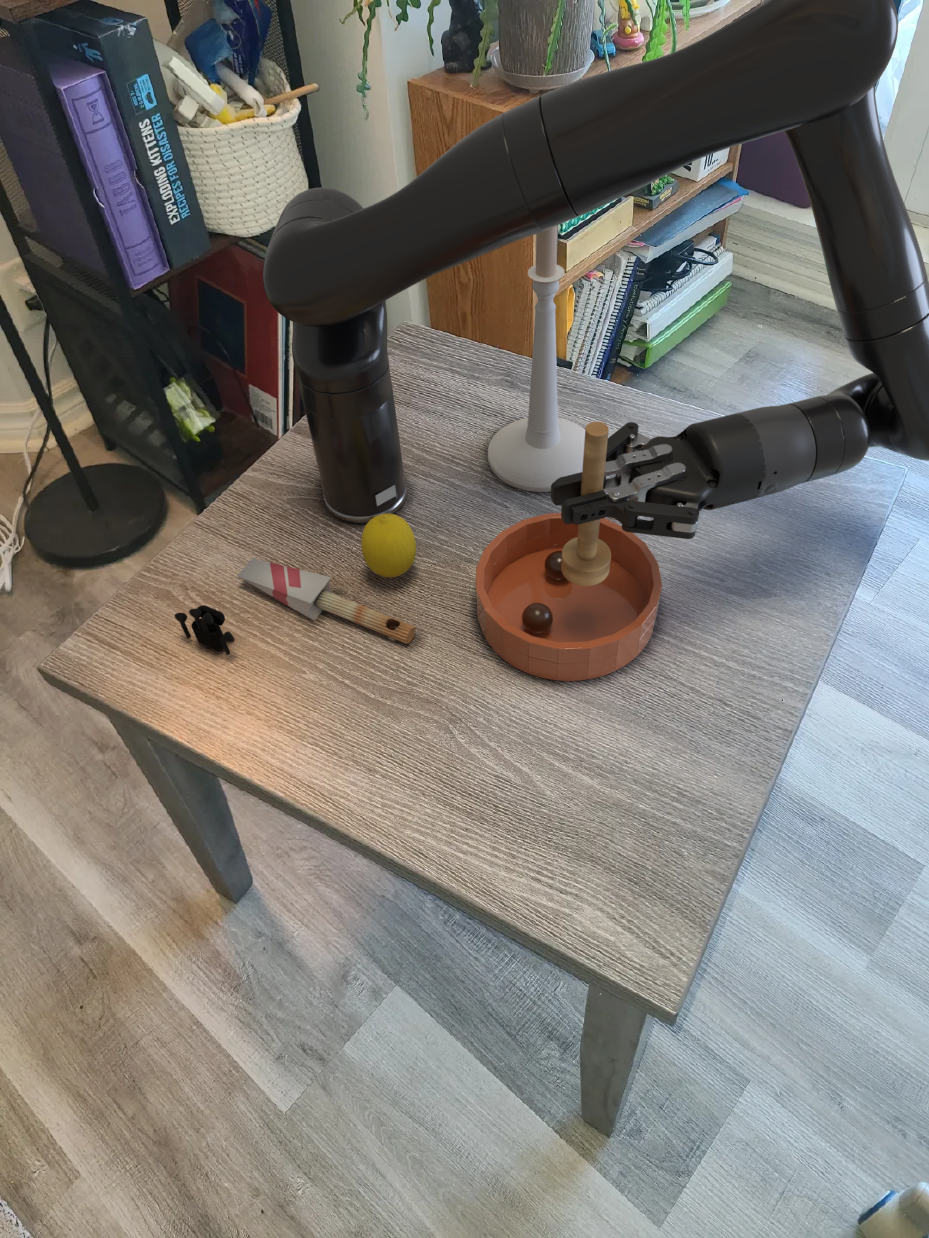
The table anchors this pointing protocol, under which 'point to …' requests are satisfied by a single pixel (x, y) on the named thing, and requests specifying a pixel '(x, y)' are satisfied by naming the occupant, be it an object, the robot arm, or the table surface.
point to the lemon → (388, 545)
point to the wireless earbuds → (207, 628)
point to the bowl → (566, 601)
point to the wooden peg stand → (586, 552)
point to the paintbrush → (318, 597)
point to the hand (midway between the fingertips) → (558, 503)
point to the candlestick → (540, 397)
